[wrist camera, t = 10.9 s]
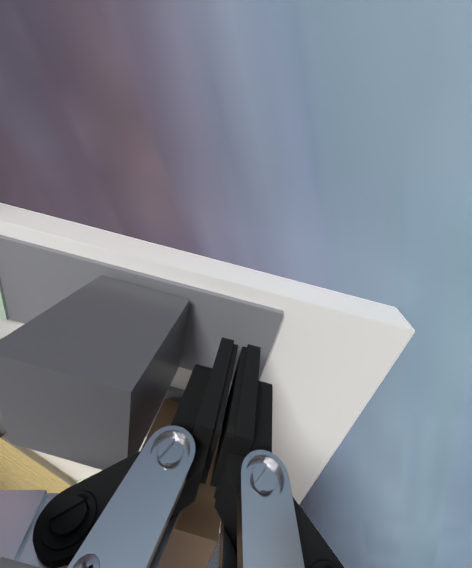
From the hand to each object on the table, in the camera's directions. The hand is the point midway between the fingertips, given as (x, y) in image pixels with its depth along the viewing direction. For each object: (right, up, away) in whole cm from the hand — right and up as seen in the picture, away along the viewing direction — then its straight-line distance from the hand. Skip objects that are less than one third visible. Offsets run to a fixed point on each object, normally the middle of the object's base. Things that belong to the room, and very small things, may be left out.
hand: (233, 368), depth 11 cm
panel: (-7, -4, +7) cm, 11 cm away
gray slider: (-4, +2, +1) cm, 5 cm away
